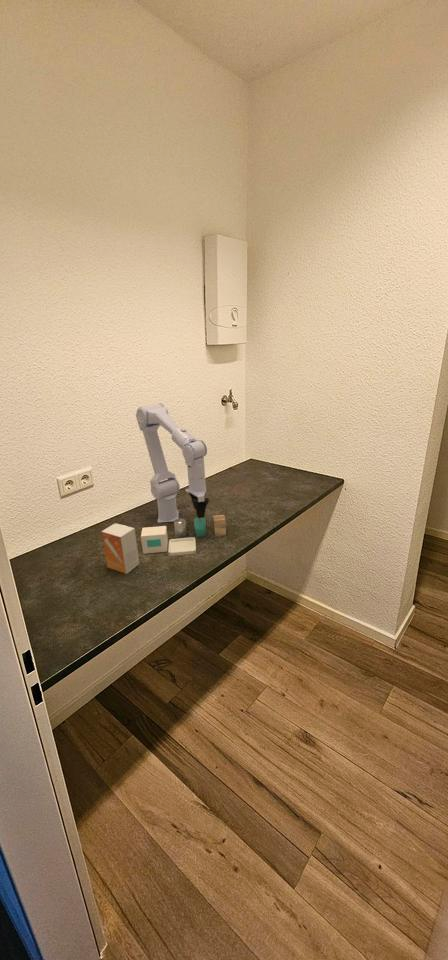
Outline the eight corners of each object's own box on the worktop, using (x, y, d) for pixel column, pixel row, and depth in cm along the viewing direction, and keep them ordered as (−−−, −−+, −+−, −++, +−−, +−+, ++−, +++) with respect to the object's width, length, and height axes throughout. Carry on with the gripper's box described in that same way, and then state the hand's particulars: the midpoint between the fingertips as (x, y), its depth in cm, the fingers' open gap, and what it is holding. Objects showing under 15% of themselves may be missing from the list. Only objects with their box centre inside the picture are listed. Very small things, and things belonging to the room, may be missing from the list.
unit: (144, 544, 137) (142, 527, 134) (168, 542, 137) (166, 525, 135) (142, 554, 130) (140, 536, 128) (167, 552, 131) (165, 534, 129)
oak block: (214, 530, 144) (213, 515, 142) (225, 529, 144) (224, 514, 142) (215, 535, 140) (214, 520, 138) (226, 534, 140) (225, 519, 138)
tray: (169, 542, 137) (169, 539, 136) (195, 540, 138) (195, 537, 137) (168, 556, 128) (168, 553, 128) (196, 553, 129) (196, 550, 129)
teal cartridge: (194, 532, 143) (193, 517, 141) (205, 531, 143) (204, 516, 141) (195, 537, 139) (194, 522, 137) (206, 536, 140) (205, 521, 138)
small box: (106, 568, 124) (100, 531, 119) (121, 558, 129) (115, 522, 124) (126, 574, 120) (120, 536, 115) (140, 564, 125) (135, 527, 120)
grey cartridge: (175, 533, 143) (174, 518, 140) (186, 532, 143) (185, 517, 141) (175, 539, 139) (173, 523, 137) (186, 538, 139) (185, 523, 137)
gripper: (181, 471, 139) (184, 506, 144) (187, 485, 126) (191, 523, 131) (201, 468, 141) (203, 503, 146) (209, 482, 128) (211, 520, 132)
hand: (199, 512), depth 138 cm, fingers open, 7 cm apart
